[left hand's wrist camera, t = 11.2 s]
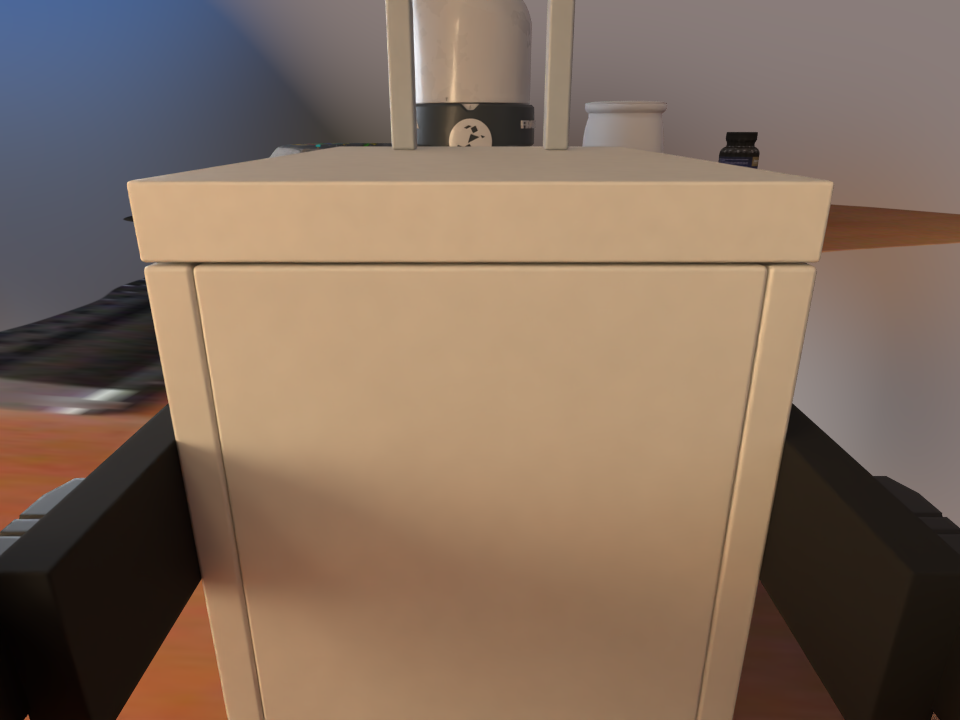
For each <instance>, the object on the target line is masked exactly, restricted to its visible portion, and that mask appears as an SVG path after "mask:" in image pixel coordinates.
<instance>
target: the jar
mask: <svg viewBox="0 0 960 720" xmlns="http://www.w3.org/2000/svg"><path fill="white" fill-rule="evenodd" d="M666 104H667V103H664V102H658V101H605V102H590V103H586V104H585V111H586V112H587V113H589V117H588V121H587V124H586V127H585V132H584V138H583V147H626V148H632V149H638V150H645V151H651V152H657V153H663V145H664V131H663V122H662V113H663V112H664V111H665V110H666V109H667V105H666Z"/></svg>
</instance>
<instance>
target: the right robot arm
mask: <svg viewBox="0 0 960 720" xmlns="http://www.w3.org/2000/svg"><path fill="white" fill-rule="evenodd" d="M413 26H414V57H415V88H416V119H417V147H530V146H532V145H533V144H534V128H535V121H534V107H533V106H532V105H528V104H530V77H531V36H532V22H531V18H530V14H529V11H528V9H527V7H526V5H525V3H524V1H523V0H413Z"/></svg>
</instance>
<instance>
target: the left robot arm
mask: <svg viewBox="0 0 960 720" xmlns="http://www.w3.org/2000/svg"><path fill="white" fill-rule="evenodd" d="M201 579H202V578H201V573H200V567H199V562H198V557H197V551H196V546H195V541H194V535H193V530H192V525H191V519H190V514H189V509H188V503H187V498H186V493H185V487H184V482H183V477H182V471H181V466H180V461H179V455H178V450H177V445H176V439H175V434H174V428H173V423H172V418H171V412H170V407H169V403H168V404H167V405H166V406H165V407H164V408H163V409H162V410H160V411H159V412H158V413H157V414H156V415H155V416H154V417H153V418H152V419H151V420H149V421H148V422H147V423H146V424H145V425H144V426H143V427H142V428H141V429H139V430H138V431H137V432H136V433H135V434H134V435H133V436H132V437H131V438H129V439H128V440H127V441H126V442H125V443H124V444H123V445H122V446H121V447H120V448H118V449H117V450H116V451H115V452H114V453H113V454H112V455H111V456H110V457H108V458H107V459H106V460H105V461H104V462H103V463H102V464H101V465H100V466H99V467H97V468H96V469H95V470H94V471H93V472H92V473H91V474H90V475H89V476H87V477H86V478H75V479H73V480H71V481H69V482H67V483H65V484H63V485H62V486H60V487H58V488H56V489H54V490H52V491H50V492H48V493H46V494H44V495H43V496H42V497H40V498H39V499H38V500H37V501H36V502H35V503H33V504H32V505H31V506H30V507H29V508H28V509H26V510H25V511H24V512H23V513H22V514H21V515H20V518H19V519H15V520H14V521H12V522H11V523H10V524H9V525H8V526H6V527H5V528H4V529H3V530H2V531H1V532H0V720H24V719H25V717H26V716H27V715H29V718H30V720H116V718H117V717H118V715H119V714H120V712H121V710H122V709H123V707H124V705H125V704H126V702H127V700H128V699H129V697H130V695H131V694H132V692H133V691H134V689H135V687H136V686H137V684H138V682H139V681H140V679H141V677H142V676H143V674H144V672H145V671H146V669H147V668H148V666H149V664H150V663H151V661H152V659H153V658H154V656H155V654H156V653H157V651H158V649H159V648H160V646H161V645H162V643H163V641H164V640H165V638H166V636H167V635H168V633H169V631H170V630H171V628H172V626H173V625H174V623H175V621H176V620H177V618H178V617H179V615H180V613H181V612H182V610H183V608H184V607H185V605H186V603H187V602H188V600H189V599H190V597H191V595H192V594H193V592H194V590H195V589H196V587H197V585H198V584H199V582H200V580H201ZM759 579H760V581H761V583H762V584H763V586H764V587H765V589H766V591H767V592H768V594H769V596H770V597H771V599H772V601H773V602H774V604H775V606H776V607H777V609H778V610H779V612H780V614H781V615H782V617H783V619H784V620H785V622H786V624H787V625H788V627H789V629H790V630H791V632H792V633H793V635H794V637H795V638H796V640H797V642H798V643H799V645H800V647H801V648H802V650H803V652H804V653H805V655H806V656H807V658H808V660H809V661H810V663H811V665H812V666H813V668H814V670H815V671H816V673H817V675H818V676H819V678H820V679H821V681H822V683H823V684H824V686H825V688H826V689H827V691H828V693H829V694H830V696H831V698H832V699H833V701H834V702H835V704H836V706H837V707H838V709H839V711H840V712H841V714H842V716H843V717H844V719H845V720H931V717H932V714H933V712H934V713H935V714H936V715H937V717H938V718H939V719H940V720H960V528H959V527H958V526H957V525H955V524H954V523H953V522H952V521H951V520H950V519H948V518H947V517H942V513H941V512H940V511H939V510H938V509H937V508H935V507H934V506H933V505H932V504H931V503H930V502H928V501H927V500H926V499H925V498H924V497H922V496H921V495H920V494H919V493H917V492H915V491H913V490H911V489H910V488H908V487H906V486H904V485H902V484H900V483H898V482H896V481H894V480H892V479H891V478H889V477H887V476H872V475H871V474H870V473H869V472H868V471H867V470H865V469H864V468H863V467H862V466H861V465H860V464H859V463H858V462H857V461H856V460H854V459H853V458H852V457H851V456H850V455H849V454H848V453H847V452H846V451H845V450H843V449H842V448H841V447H840V446H839V445H838V444H837V443H836V442H835V441H833V440H832V439H831V438H830V437H829V436H828V435H827V434H826V433H825V432H824V431H822V430H821V429H820V428H819V427H818V426H817V425H816V424H815V423H813V422H812V421H811V420H810V419H809V418H808V417H807V416H806V415H805V414H804V413H803V412H801V411H800V410H799V409H798V408H797V407H796V406H795V405H794V404H793V403H792V406H791V412H790V417H789V422H788V427H787V433H786V438H785V443H784V449H783V454H782V459H781V465H780V470H779V475H778V481H777V486H776V491H775V497H774V502H773V507H772V512H771V518H770V523H769V528H768V534H767V539H766V544H765V550H764V555H763V560H762V566H761V571H760V576H759Z"/></svg>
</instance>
